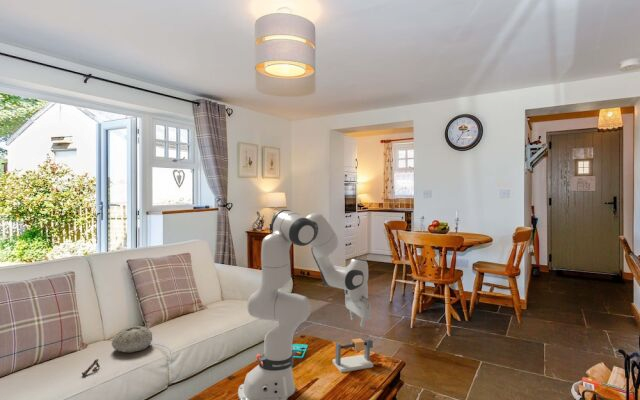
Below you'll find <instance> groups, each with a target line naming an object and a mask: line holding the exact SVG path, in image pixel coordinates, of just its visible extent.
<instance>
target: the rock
mask: <svg viewBox="0 0 640 400" xmlns="http://www.w3.org/2000/svg"><path fill="white" fill-rule="evenodd" d="M152 341H153V332H152V331H151V330H150V329H148V328H147V327H145V326H142V325H134V326H129V327H126V328H124V329H121V330H120V331H119V332H117V333H116V334H115V335H114V337H113V339H112V340H111V347H112V348H113V349H114V350H116V351H118V352H122V353H129V354H130V353H136V352H139V351H142V350H145V349H147V347H148V346H150V345H151V343H152Z"/></svg>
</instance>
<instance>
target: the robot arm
mask: <svg viewBox="0 0 640 400" xmlns="http://www.w3.org/2000/svg"><path fill="white" fill-rule="evenodd" d="M269 233H270V234H267V235H266V236H264V238H263V239H262V241H261V250H260V256H261V257H260V261H261V262H260V263H261V283H260V286H259V287H258V289H256V291H255V292H253V293H251V295H250V296H249V297H248V299H247V303H246V309H247V312H248V314H249V316H250V317H252V318H255V319H259V320H264V321H272V322H273V321H275V322H278V325H277V327H276V326H275V327H274V328H271V329H269V330H268V331H267V332H266V333H265V336H264V340H263V341H264V343H263V346H264V347H263V354H262V355H261V353H257V354H256V355H255V357H256V359H257V360H256V361H258V365H256V366H255V367H254V368H252V369H251V370H250V371H249V372H247V373H246V376H245V378H244V382H243V383H242V384H240V385H239V386H238V390H237V395H238V398H239V400H288V398H289V397H291V396H292V395H294V394H295V393H296V386H295V385H296V384H295V382H294V374H293V368H294V358H293V355H294V353H293V352H292V345H293V340H294V334H295V332H296V330H297V328H298V327H299V326H300V325H301V324H303V322H305V321H306V320H307V319H309V316H310V314H311V311H312V306H311V301H310V300H309V298H308V297H307V296H305V295H302V294H300V293H299V294H298V293H292V292H291V293H290V292H280V291H279V289H282V288H284V287H286V286H287V285H288V284H289V283H290V281H291V278H292V273H291V271H292V270H291V255H290V251H291V250H290V249H291V246H292V244H293V245H295V246H298V247H299V246H300V247H303V246H304V247H305V246H308V245H309V244H310V245H311V250H310V251H311V253H312V257H313V259H314V261H315V264H316V265H317V268H318V270H319V272H320V276H321V281H322V283H323V284H324V285H325V286H326V287H329V288H337V289H341V290H344V294H345V295H344V297H345V298H344V302H345V304H344V305H345V308H346V309H347V310H349V314H350V320H351V321H352V322H353V321H354V322H355V321H356V318H357V317H356V316H358V317H359V318H360V320H361V321H360V322H359V326H360V328H365V327H366V322H367V320H371V319H372V303H371V302H370V301H369V285H368V280H369V265H368V262H367V261H366V259H360V258H351V259H350V263H349V264H348V265H347V266H339V265H336V264H333V263H332V262H331V261H330V258H329V256H330V255H332V254H333V253H334V252H335V251H336V250H337V248H338V245H339V239H338V236H337V234H336V232H335V231H334V229H333V227H332V225H331V224H330V222H329V221H328V220H327V219H326V218H325V217H324V215H323V214H321V213H318V212H313V213H312V212H311V213H309V214H307V216H305V217H304V216H303V215H301V214H299V213H297V212H295V211H292V210H290V209H281V210H278V211H277V212H275V213H274V215H272V219H271V221H270V226H269ZM355 315H356V316H355Z"/></svg>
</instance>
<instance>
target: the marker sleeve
mask: <svg viewBox="0 0 640 400" xmlns="http://www.w3.org/2000/svg"><path fill="white" fill-rule="evenodd" d="M364 342H365V340H363V339H362V338H360V337H359V338H352V339H351V344H355V347H351V349H352V350H353V351H355V352H359V351H360V352H361V351H365V345H364Z"/></svg>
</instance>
